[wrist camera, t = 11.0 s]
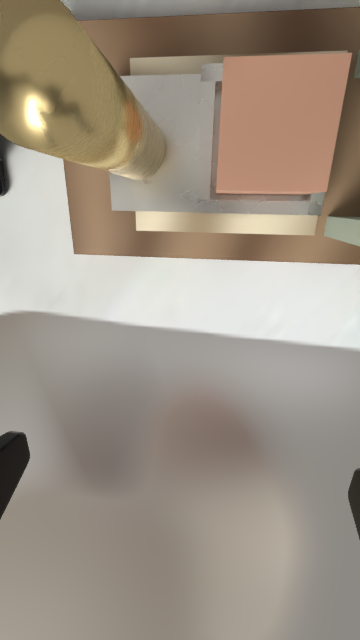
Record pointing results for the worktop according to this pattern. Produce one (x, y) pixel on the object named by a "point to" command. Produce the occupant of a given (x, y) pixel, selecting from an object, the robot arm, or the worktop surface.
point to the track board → (187, 58)
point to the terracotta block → (279, 122)
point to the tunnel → (345, 227)
